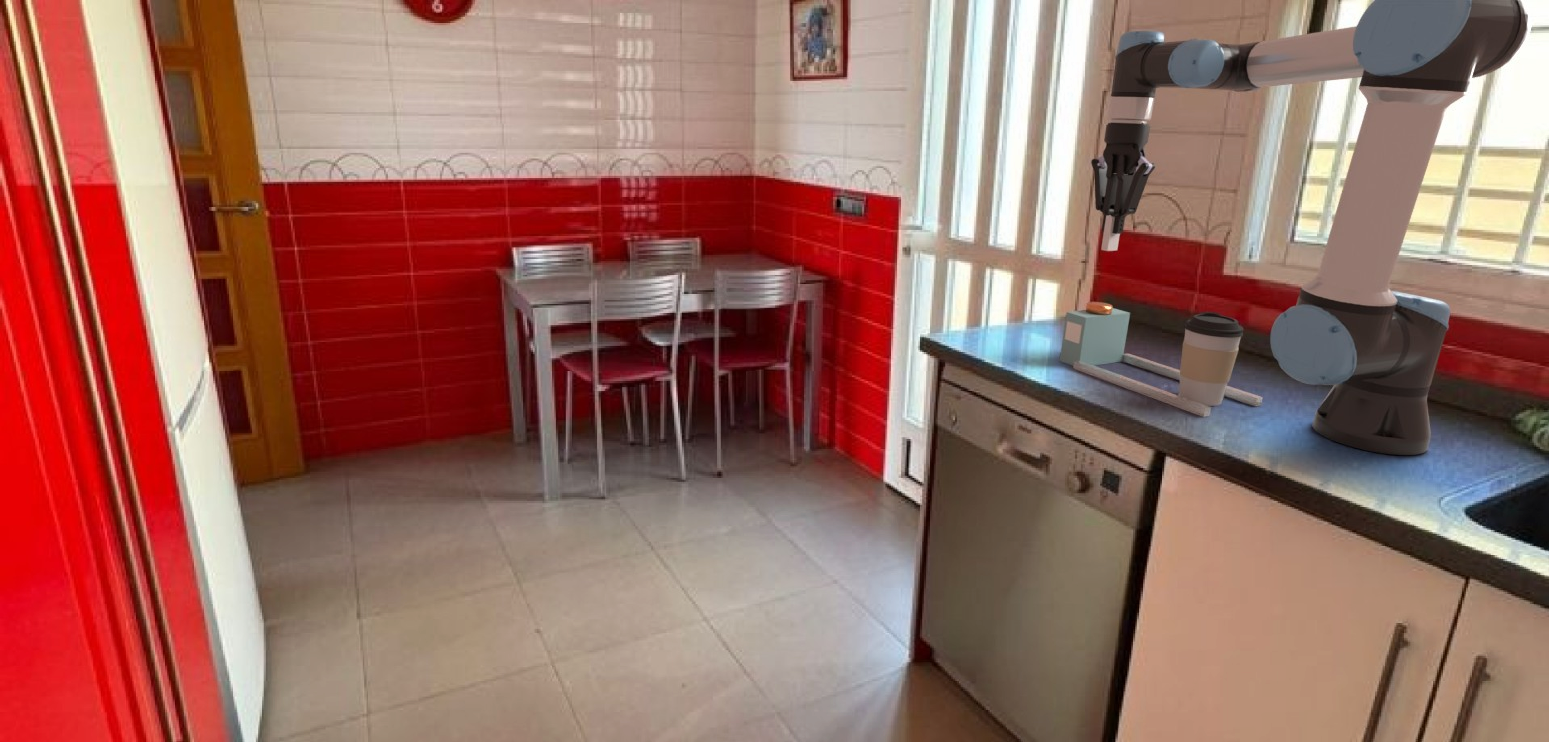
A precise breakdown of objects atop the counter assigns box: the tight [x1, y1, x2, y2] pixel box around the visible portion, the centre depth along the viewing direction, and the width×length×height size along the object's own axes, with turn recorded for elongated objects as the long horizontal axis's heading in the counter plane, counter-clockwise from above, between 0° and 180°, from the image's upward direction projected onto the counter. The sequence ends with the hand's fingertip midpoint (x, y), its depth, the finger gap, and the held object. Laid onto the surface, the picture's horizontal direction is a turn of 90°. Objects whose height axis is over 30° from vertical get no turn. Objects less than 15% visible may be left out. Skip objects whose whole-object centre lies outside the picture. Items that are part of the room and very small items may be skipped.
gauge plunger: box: [1085, 301, 1114, 315], centre depth 166 cm, size 5×5×6 cm
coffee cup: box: [1177, 311, 1244, 407], centre depth 145 cm, size 9×9×15 cm
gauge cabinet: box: [1059, 307, 1131, 366], centre depth 167 cm, size 5×12×10 cm, turn 117°
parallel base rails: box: [1072, 352, 1264, 418], centre depth 154 cm, size 28×15×2 cm, turn 27°
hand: (1109, 250), depth 161 cm, fingers closed
